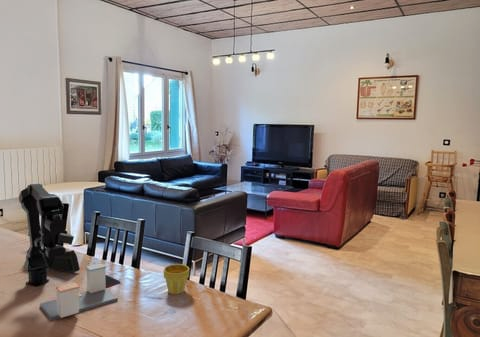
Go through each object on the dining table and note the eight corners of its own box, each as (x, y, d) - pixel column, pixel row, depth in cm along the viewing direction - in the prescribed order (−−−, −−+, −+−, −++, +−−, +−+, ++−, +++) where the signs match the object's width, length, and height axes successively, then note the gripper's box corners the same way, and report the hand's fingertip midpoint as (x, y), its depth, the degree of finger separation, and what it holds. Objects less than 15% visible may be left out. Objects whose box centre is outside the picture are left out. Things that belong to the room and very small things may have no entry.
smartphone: (101, 272, 171) (121, 281, 162) (101, 274, 171) (121, 283, 162) (86, 277, 165) (106, 286, 156) (86, 279, 165) (106, 288, 156)
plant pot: (182, 298, 149) (182, 274, 148) (158, 294, 152) (159, 271, 151) (192, 288, 159) (193, 265, 158) (170, 284, 162) (171, 262, 161)
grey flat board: (40, 306, 138) (40, 302, 138) (103, 289, 155) (103, 285, 155) (51, 320, 129) (51, 316, 129) (117, 300, 145) (117, 296, 145)
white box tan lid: (56, 313, 131) (55, 287, 130) (75, 307, 135) (74, 282, 134) (60, 318, 128) (60, 291, 127) (79, 312, 132) (79, 286, 131)
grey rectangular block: (86, 289, 150) (85, 266, 149) (101, 285, 155) (101, 263, 154) (90, 293, 147) (90, 270, 146) (106, 289, 152) (106, 266, 151)
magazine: (84, 254, 170) (37, 227, 179) (78, 256, 167) (31, 229, 176) (76, 287, 173) (30, 258, 183) (70, 289, 170) (24, 261, 180)
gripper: (80, 230, 142) (80, 270, 143) (63, 220, 155) (64, 256, 157) (48, 235, 134) (49, 277, 136) (33, 224, 148) (34, 262, 149)
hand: (50, 267), depth 145 cm, fingers closed
